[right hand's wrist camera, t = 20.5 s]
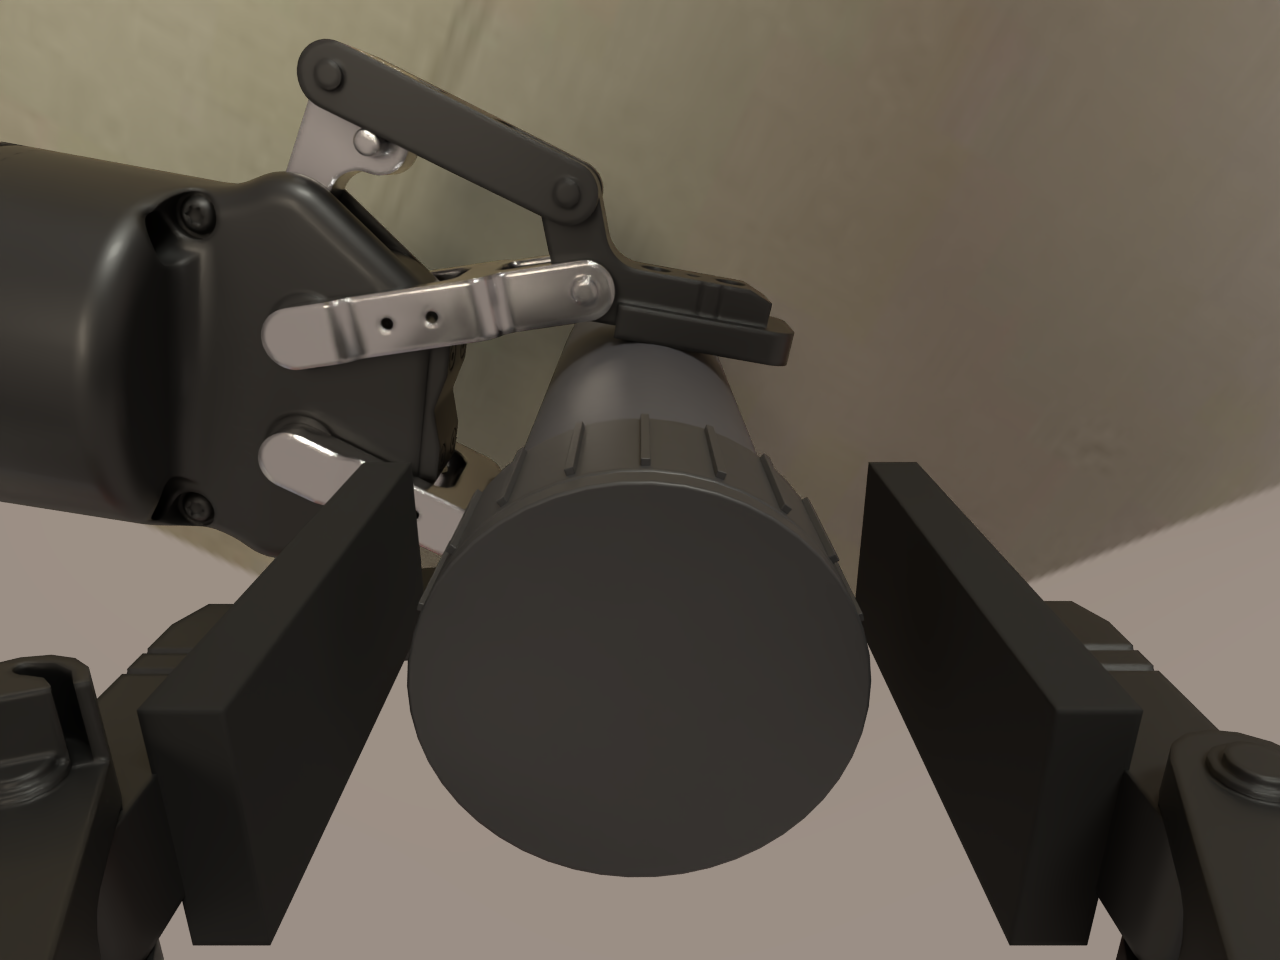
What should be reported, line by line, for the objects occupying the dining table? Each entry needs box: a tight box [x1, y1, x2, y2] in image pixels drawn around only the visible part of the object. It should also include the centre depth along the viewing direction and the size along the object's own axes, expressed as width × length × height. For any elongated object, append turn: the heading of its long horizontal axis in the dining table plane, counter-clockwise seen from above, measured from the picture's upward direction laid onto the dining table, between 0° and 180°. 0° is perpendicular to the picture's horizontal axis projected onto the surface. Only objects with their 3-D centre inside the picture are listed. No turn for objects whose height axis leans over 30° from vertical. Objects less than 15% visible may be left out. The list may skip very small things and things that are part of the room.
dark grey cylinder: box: [524, 321, 757, 455], centre depth 18 cm, size 4×4×16 cm
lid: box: [407, 414, 871, 877], centre depth 11 cm, size 5×5×2 cm
